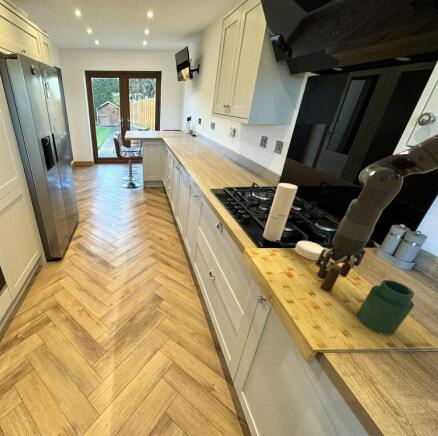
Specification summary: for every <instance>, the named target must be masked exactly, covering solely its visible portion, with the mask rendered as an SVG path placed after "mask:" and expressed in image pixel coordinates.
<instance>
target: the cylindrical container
mask: <svg viewBox="0 0 438 436" xmlns="http://www.w3.org/2000/svg"><path fill="white" fill-rule="evenodd" d="M297 191H298V185H295V184H292V183H286V182H279V183H278V185H277V187H276V190H275V194H274V197H273V201H272V204H271V207H270V211H269V214H268V218H267V221H266V224H265V228H264V231H263V236H262V237H263V238H264V239H266V240H268V241H270V242H277V241H276V240H279V241H280V240H281V238H282V235H283V232H284V229H285V226H286V224H287V220H288V218H289V215H290V211H291V208H292V205H293V203H294V200H295V196H296V194H297Z"/></svg>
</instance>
